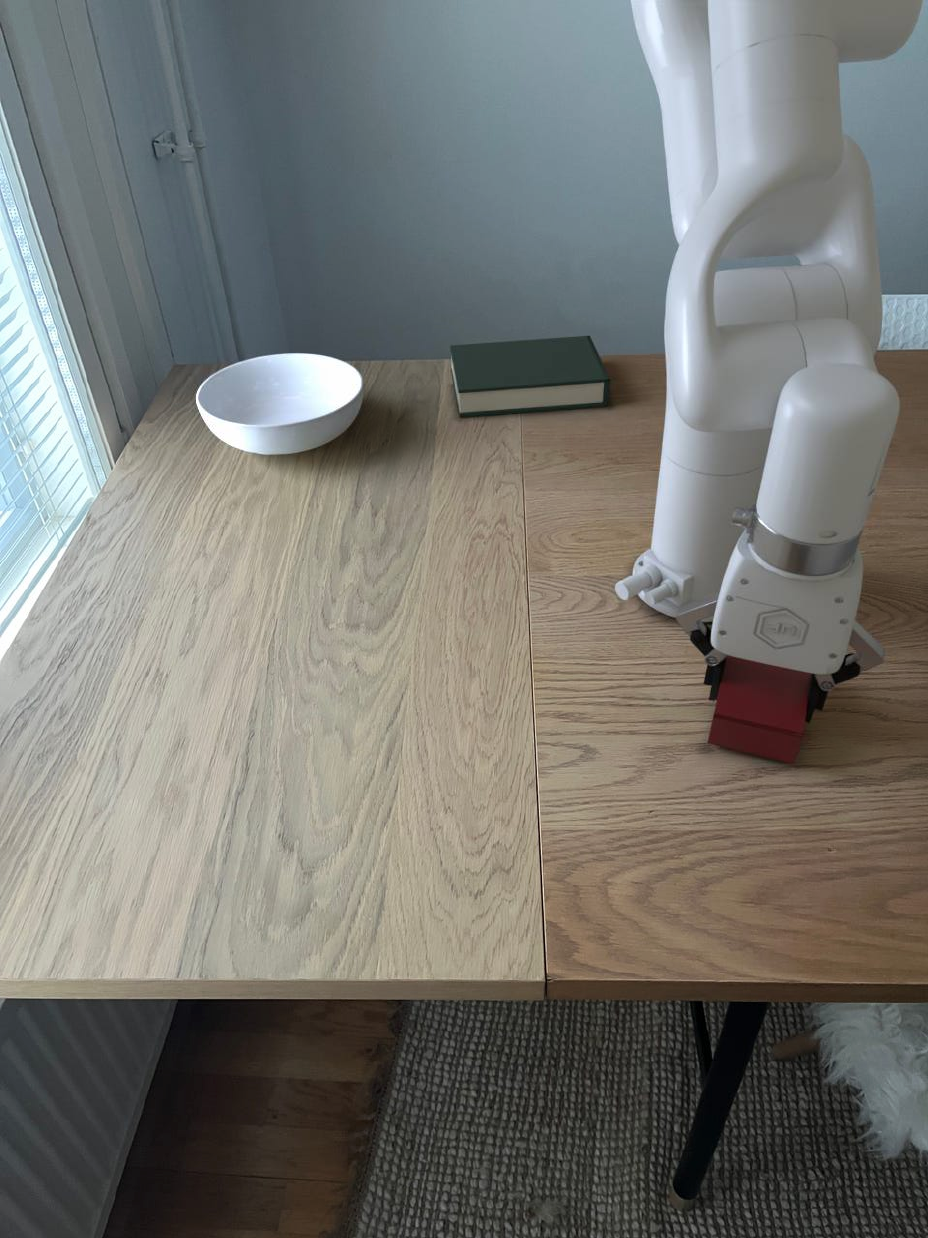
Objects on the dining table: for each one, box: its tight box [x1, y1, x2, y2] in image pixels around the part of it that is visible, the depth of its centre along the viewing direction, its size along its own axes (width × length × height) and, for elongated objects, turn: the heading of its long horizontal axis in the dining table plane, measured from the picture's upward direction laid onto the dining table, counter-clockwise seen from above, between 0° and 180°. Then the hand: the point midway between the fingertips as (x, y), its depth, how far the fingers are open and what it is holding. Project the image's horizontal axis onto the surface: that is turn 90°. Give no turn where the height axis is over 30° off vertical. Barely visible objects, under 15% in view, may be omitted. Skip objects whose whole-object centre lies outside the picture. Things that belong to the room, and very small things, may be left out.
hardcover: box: [449, 335, 611, 419], centre depth 130 cm, size 20×14×4 cm
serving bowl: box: [195, 352, 365, 456], centre depth 121 cm, size 21×21×7 cm
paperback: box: [707, 655, 811, 765], centre depth 81 cm, size 11×7×4 cm, turn 160°
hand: (760, 698), depth 81 cm, fingers closed on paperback, 7 cm apart
